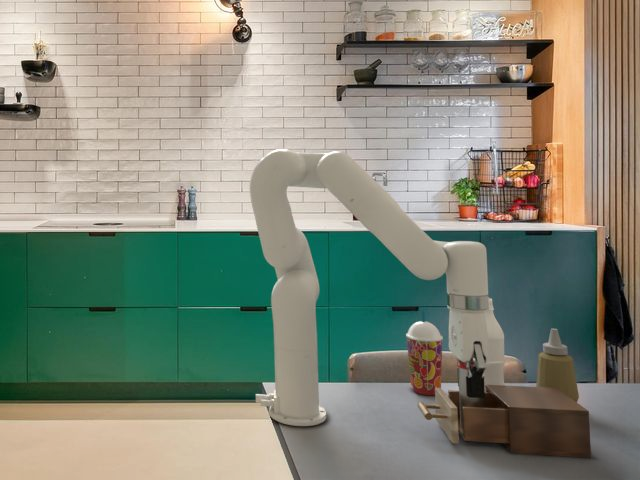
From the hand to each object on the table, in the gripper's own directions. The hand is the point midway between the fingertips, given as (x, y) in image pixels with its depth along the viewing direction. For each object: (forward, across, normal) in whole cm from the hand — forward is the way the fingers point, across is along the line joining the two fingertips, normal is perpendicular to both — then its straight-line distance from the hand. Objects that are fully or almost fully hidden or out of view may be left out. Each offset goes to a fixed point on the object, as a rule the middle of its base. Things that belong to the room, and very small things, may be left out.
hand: (471, 391), depth 114 cm
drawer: (+8, 0, -1) cm, 8 cm away
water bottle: (+9, -16, +8) cm, 20 cm away
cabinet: (+9, 0, +12) cm, 15 cm away
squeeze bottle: (+9, -18, +24) cm, 31 cm away
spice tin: (+7, 0, 0) cm, 7 cm away
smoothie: (+9, -26, -2) cm, 28 cm away
